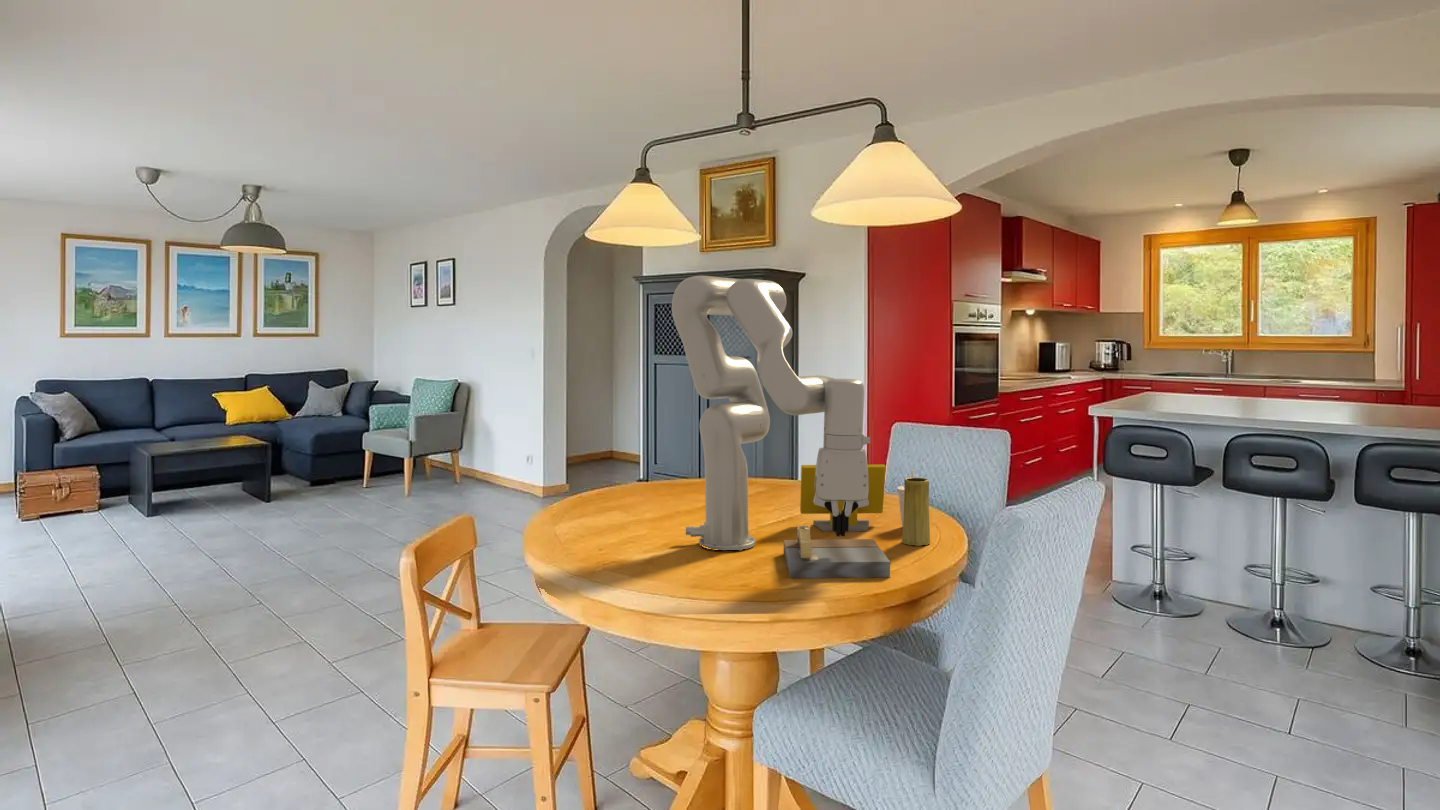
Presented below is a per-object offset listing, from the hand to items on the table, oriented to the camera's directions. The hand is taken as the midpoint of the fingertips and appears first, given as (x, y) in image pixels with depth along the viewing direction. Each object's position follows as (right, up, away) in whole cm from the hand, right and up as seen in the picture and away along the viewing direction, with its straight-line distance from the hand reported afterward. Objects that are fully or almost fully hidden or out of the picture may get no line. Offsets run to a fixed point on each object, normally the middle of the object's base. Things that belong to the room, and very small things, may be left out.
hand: (840, 534), depth 152 cm
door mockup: (-1, -7, +3) cm, 7 cm away
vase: (+20, -5, +20) cm, 29 cm away
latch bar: (-7, -3, +3) cm, 8 cm away
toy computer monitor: (+6, -4, +35) cm, 36 cm away
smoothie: (+22, -4, +34) cm, 41 cm away
